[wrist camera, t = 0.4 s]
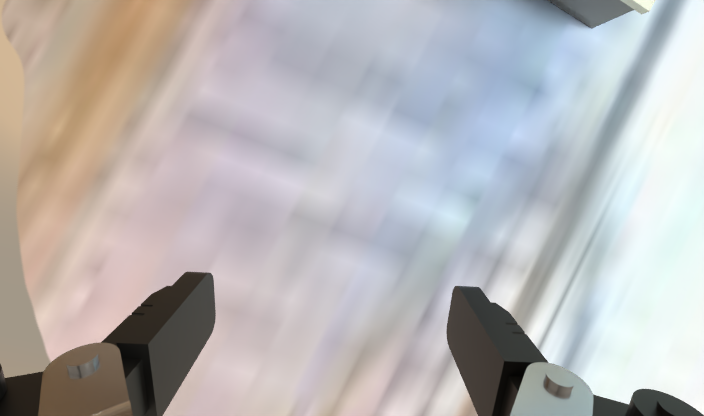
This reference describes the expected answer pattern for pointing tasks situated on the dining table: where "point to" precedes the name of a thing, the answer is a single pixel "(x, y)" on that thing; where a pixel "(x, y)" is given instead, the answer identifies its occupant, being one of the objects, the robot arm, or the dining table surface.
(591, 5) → the tub
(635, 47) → the dining table surface
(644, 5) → the lid
